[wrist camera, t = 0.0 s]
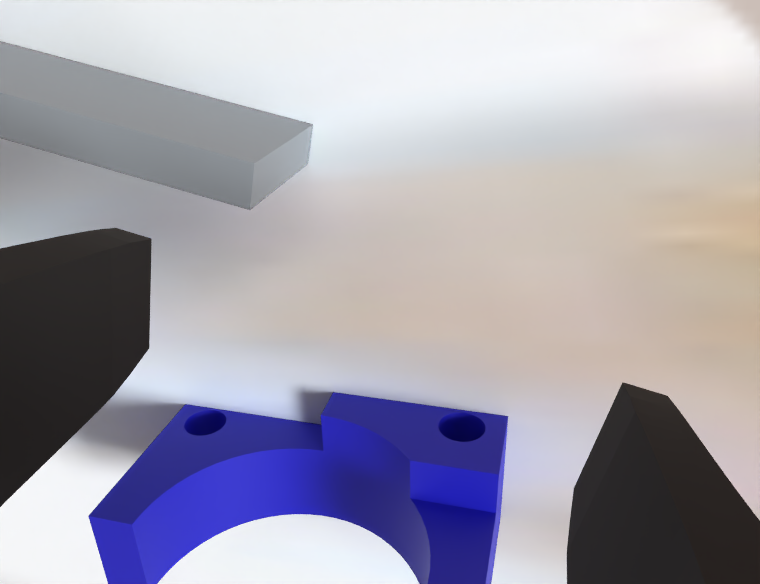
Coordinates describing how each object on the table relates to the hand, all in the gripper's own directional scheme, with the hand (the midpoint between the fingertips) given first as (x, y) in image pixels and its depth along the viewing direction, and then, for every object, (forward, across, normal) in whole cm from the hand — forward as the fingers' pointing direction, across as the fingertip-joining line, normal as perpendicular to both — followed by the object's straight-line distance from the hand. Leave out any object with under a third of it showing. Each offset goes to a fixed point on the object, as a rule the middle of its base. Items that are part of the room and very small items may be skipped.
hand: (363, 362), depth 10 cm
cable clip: (+10, +2, +11) cm, 15 cm away
